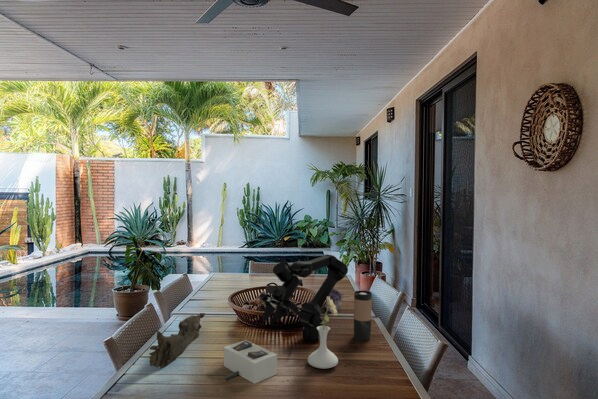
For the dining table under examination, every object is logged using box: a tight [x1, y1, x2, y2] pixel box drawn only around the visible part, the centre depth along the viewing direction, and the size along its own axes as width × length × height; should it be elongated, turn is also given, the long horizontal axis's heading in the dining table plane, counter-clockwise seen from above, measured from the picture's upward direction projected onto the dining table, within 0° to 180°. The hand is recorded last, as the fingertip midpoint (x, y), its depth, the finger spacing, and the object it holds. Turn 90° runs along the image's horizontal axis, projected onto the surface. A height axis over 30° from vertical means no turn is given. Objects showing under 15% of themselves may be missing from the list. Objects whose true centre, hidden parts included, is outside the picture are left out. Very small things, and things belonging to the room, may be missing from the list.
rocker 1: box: [233, 340, 253, 351], centre depth 145 cm, size 6×4×1 cm, turn 134°
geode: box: [323, 288, 344, 314], centre depth 218 cm, size 20×12×10 cm, turn 177°
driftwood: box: [148, 312, 206, 369], centre depth 159 cm, size 4×52×14 cm, turn 176°
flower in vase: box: [307, 296, 339, 370], centre depth 147 cm, size 13×11×25 cm
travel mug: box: [353, 290, 373, 342], centre depth 174 cm, size 8×8×20 cm
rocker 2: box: [248, 351, 268, 358], centre depth 138 cm, size 6×4×1 cm, turn 135°
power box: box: [223, 339, 278, 384], centre depth 140 cm, size 15×18×7 cm
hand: (266, 321), depth 153 cm, fingers open, 4 cm apart
